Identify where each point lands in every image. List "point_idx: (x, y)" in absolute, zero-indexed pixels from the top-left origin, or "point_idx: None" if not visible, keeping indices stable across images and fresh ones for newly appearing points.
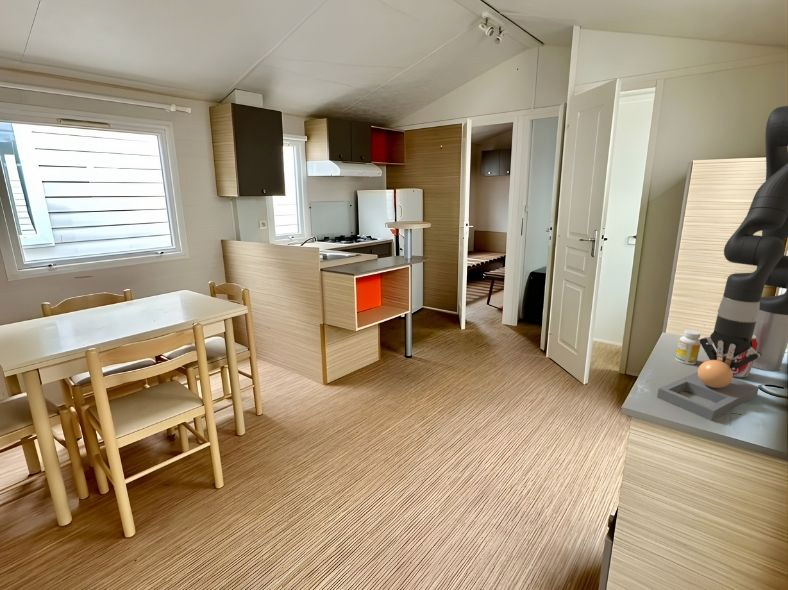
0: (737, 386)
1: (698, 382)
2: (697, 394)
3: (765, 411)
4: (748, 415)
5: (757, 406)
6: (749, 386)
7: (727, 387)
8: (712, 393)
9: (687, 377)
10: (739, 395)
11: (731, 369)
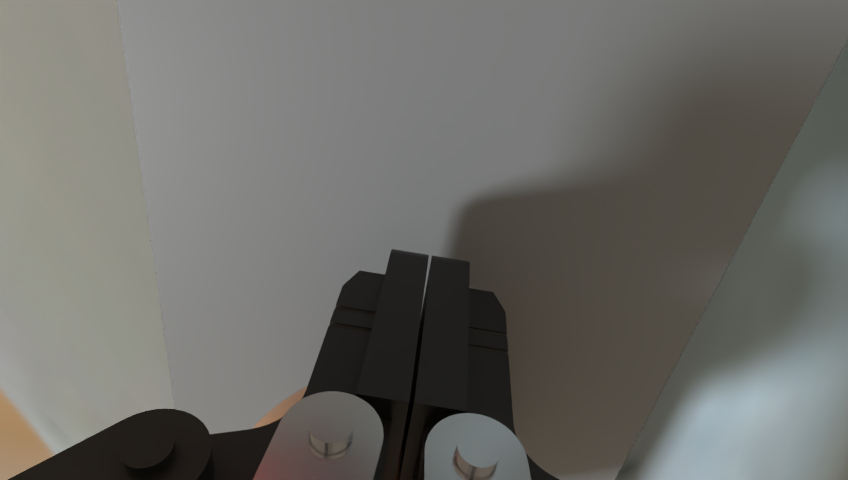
0: (593, 232)
1: None
2: None
3: (806, 317)
4: (677, 451)
5: (755, 270)
6: (728, 109)
7: (511, 335)
8: None
9: (184, 377)
10: (623, 425)
11: (507, 425)
